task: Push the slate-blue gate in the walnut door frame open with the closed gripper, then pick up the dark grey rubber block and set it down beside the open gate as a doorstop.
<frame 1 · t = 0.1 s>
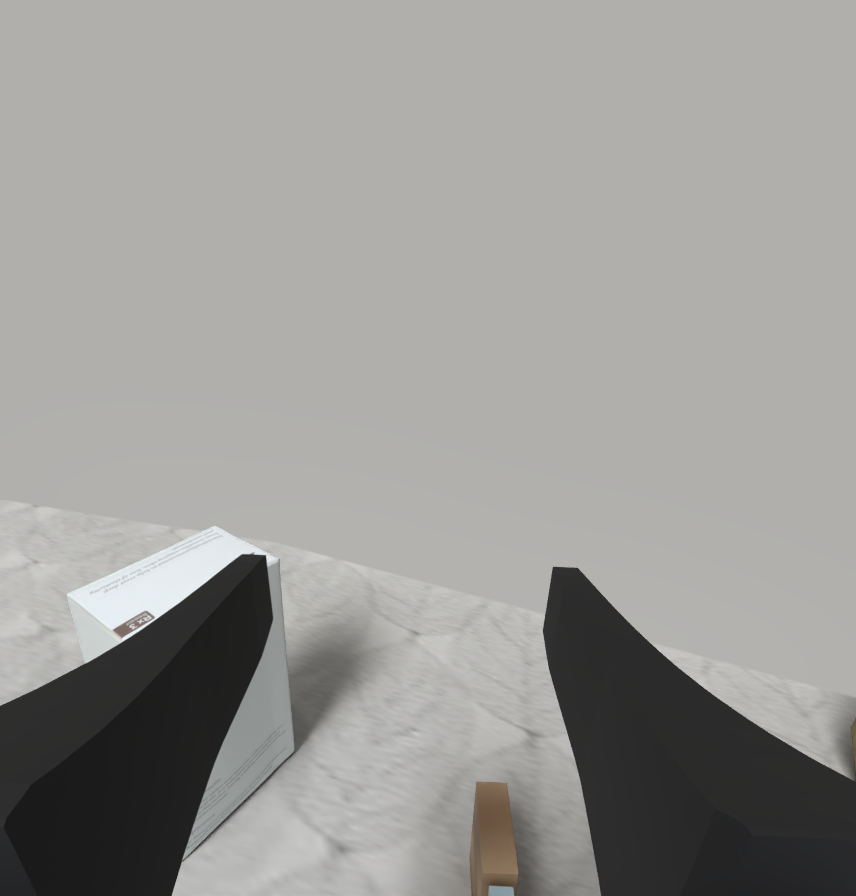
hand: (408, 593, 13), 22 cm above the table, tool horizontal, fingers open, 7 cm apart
skincare box: (213, 783, 30), on the table
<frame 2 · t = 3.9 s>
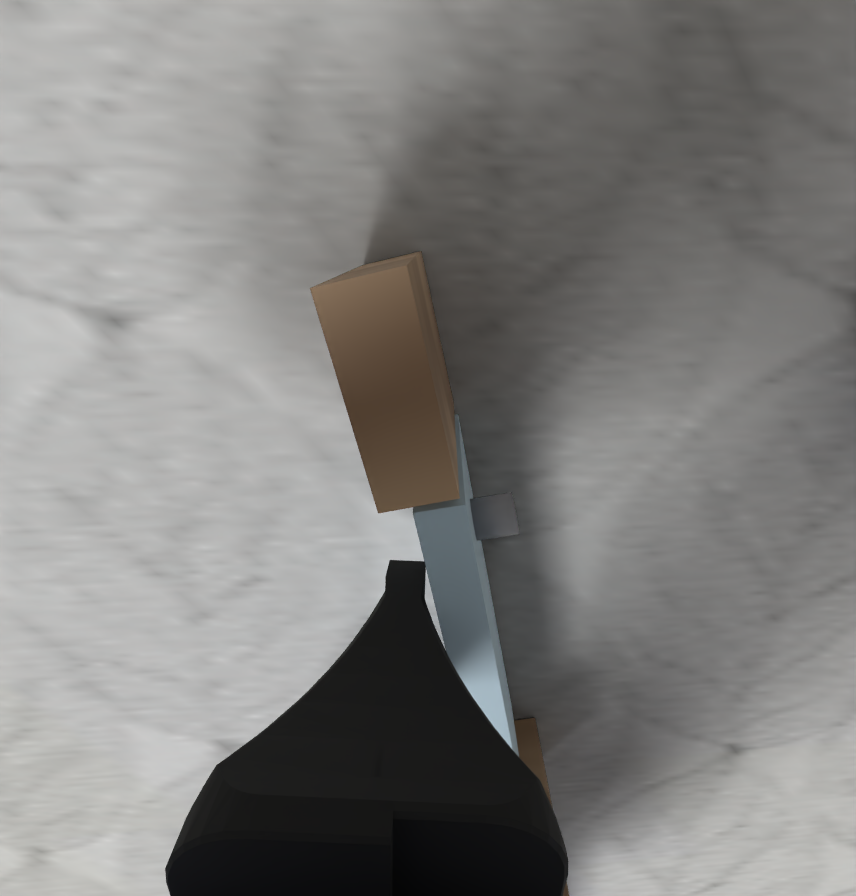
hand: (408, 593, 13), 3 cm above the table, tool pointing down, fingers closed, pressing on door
door frame: (470, 590, 17), on the table
door: (498, 648, 14), point 3 cm above the table, hinge at 1.6°, touching gripper
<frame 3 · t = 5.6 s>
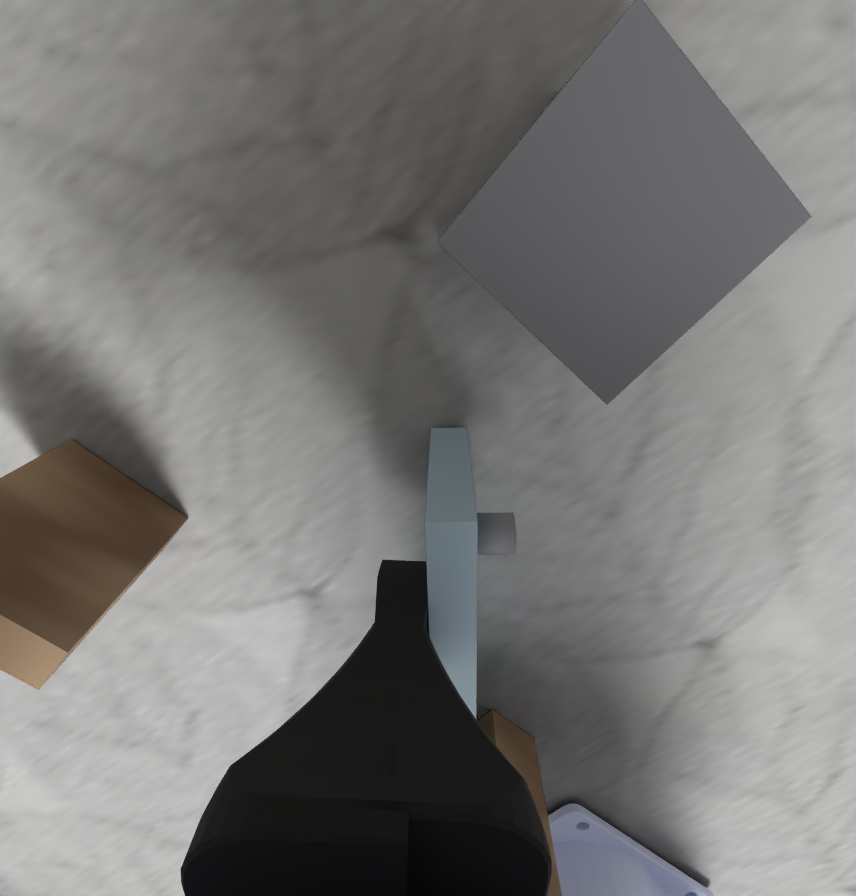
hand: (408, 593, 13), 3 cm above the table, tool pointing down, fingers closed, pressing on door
doorstop: (554, 230, 12), on the table
door frame: (338, 639, 18), on the table
door: (470, 660, 14), point 3 cm above the table, hinge at 46.8°, touching gripper
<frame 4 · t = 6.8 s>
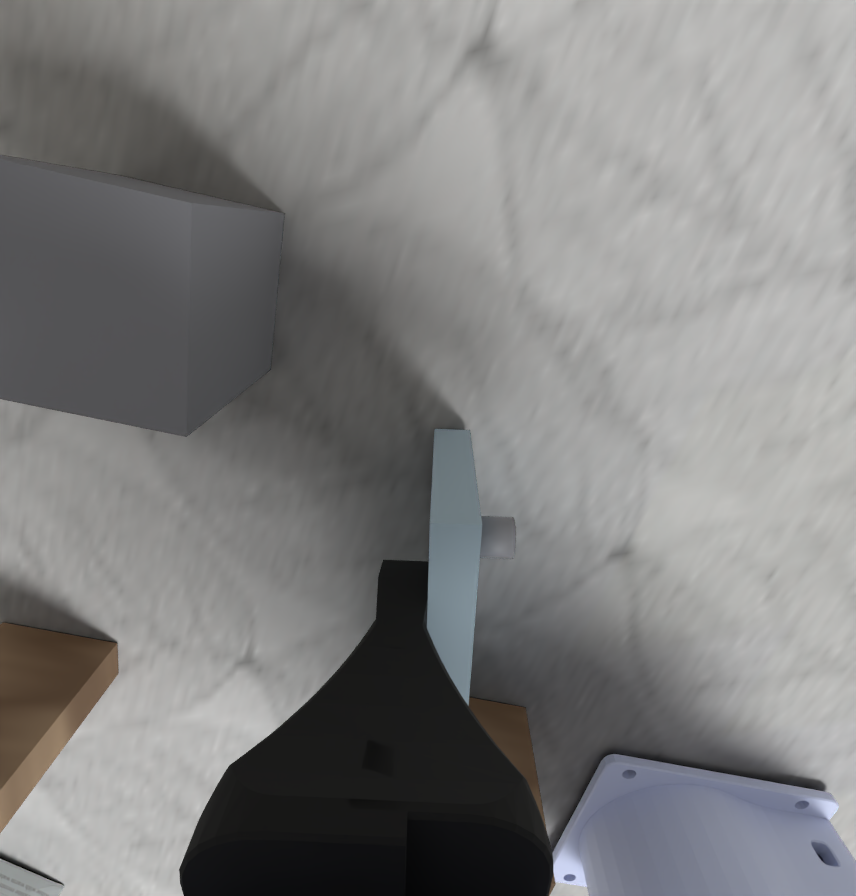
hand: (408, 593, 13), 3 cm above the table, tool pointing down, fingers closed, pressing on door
doorstop: (201, 278, 13), on the table
door frame: (294, 690, 19), on the table
door: (462, 662, 14), point 3 cm above the table, hinge at 79.1°, touching gripper
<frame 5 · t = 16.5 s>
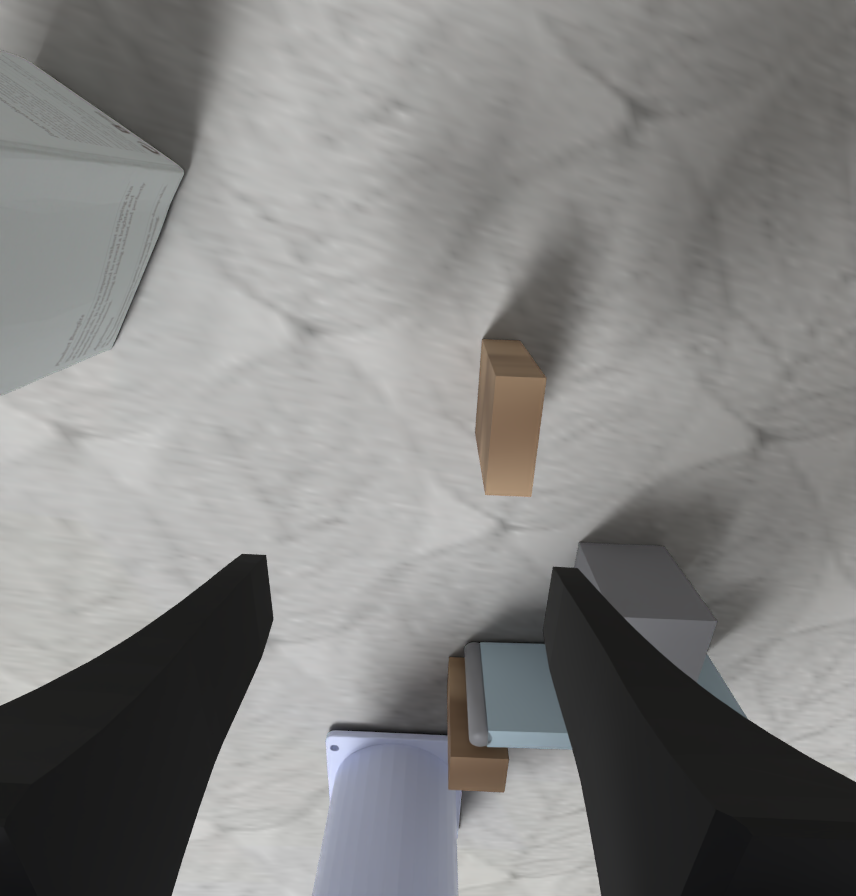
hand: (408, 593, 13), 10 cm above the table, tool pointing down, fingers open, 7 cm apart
doorstop: (613, 578, 24), on the table
skincare box: (83, 229, 19), on the table
door frame: (481, 559, 24), on the table
door: (594, 700, 24), point 3 cm above the table, hinge at 88.8°
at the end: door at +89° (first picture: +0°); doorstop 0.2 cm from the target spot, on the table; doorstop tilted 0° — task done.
